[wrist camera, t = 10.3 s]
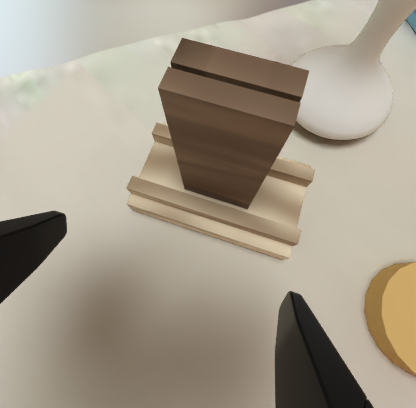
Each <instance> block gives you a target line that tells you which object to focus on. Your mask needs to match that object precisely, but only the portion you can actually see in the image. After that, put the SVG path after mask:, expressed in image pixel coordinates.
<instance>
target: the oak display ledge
mask: <svg viewBox="0 0 416 408" xmlns="http://www.w3.org/2000/svg"><path fill="white" fill-rule="evenodd" d="M152 135H153V138H154V140H155V143H154V145H153V147H152V149H151V151H150V154H149V156H148V158H147V160H146V162H145V165H144V167H143V169H142V171H141V173H140V176H139V178H137V177H134V176H132V177H131V179H130V182H129V184H128V186H127V189H128V190H129V191H130V193H131V195H130V198H129V200H128V202H127V205H128V206H129V207H130V208H132V209H133V210H135V211H138V212H141V213H144V214H147V215H150V216H153V217H156V218H159V219H162V220H165V221H168V222H171V223H174V224H177V225H180V226H183V227H186V228H189V229H192V230H195V231H198V232H201V233H204V234H207V235H210V236H213V237H216V238H219V239H222V240H225V241H228V242H231V243H234V244H237V245H240V246H242V247H245V248H248V249H251V250H254V251H257V252H260V253H263V254H266V255H269V256H272V257H275V258H278V259H281V260H284V259H288V258H290V254H291V250H292V246H294V245H297V244H298V242H299V238H300V233H301V230H300V229H297V224H298V220H299V216H300V211H301V207H302V203H303V199H304V194H305V190H306V187H307V186H308V185H309V184H310V183H311V182H312V181H313V176H314V172H315V169H312V168H311V166H309V165H306V164H302V163H299V162H296V161H292V160H289V159H285V158H282V157H279V156H277V158H276V160H275V162H274V163H273V165H272V167H271V169H270V171H269V172H268V174H267V176H266V178H265V179H264V181H263V183H262V185H261V187H260V188H259V190H258V192H257V194H256V195H255V197H254V199H253V201H252V203H251V204H250V206H249V208H248V209H244V208H241V207H238V206H235V205H232V204H229V203H226V202H222V201H219V200H216V199H213V198H210V197H207V196H204V195H200V194H197V193H194V192H191V191H188V190H185V189H184V185H183V181H182V178H181V174H180V170H179V166H178V162H177V158H176V155H175V151H174V147H173V143H172V139H171V136H170V132H169V128H168V124H166V123H163V124H160V123H156V125H155V128H154V130H153V132H152Z"/></svg>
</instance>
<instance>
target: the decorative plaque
mask: <svg viewBox="0 0 416 408" xmlns="http://www.w3.org/2000/svg"><path fill="white" fill-rule="evenodd" d="M365 315H366V319H367V324H368V328H369V331H370V333H371V335H372V337H373V338H374V340H375V342H376V344H377V346H378V348H379V349H380V350H381V351H382V352H383V353H384V354H385V355H386V356H387V357H388V358H389V360H390V361H391V362H392V363H394V364H395V365H397V366H399V367H400V368H402V369H403V370H405V371H406V372H408V373H410V374H412V375H414V376H416V262H414V263H402V264H394V265H392V266H390V267H387V268H385V269H383V270H381V271H380V272H379V273H378V274H377V275H376V277H375V278H374V279H373V280H372V281H371V283H370V286H369V288H368V291H367V293H366V299H365Z"/></svg>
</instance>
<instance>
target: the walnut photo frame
mask: <svg viewBox="0 0 416 408" xmlns="http://www.w3.org/2000/svg"><path fill="white" fill-rule="evenodd" d="M171 67H172V68H170V67H168V68H167V70H166V72H165V75H164V77H163V79H162V81H161V83H160V85H159V87H158V90H159V94H160V97H161V101H162V105H163V109H164V113H165V116H166V120H167V124H168V128H169V132H170V136H171V139H172V143H173V147H174V151H175V155H176V158H177V162H178V166H179V170H180V174H181V178H182V181H183V185H184V189H185V190H188V191H191V192H194V193H197V194H200V195H204V196H207V197H210V198H213V199H216V200H219V201H222V202H226V203H229V204H232V205H235V206H238V207H241V208H244V209H248V208H249V206H250V204H251V203H252V201H253V199H254V197H255V195H256V194H257V192H258V190H259V188H260V187H261V185H262V183H263V181H264V179H265V178H266V176H267V174H268V172H269V171H270V169H271V167H272V165H273V163H274V162H275V160H276V158H277V156H278V155H279V153H280V151H281V149H282V147H283V146H284V144H285V142H286V140H287V139H288V137H289V135H290V133H291V131H292V130H293V128H294V126H295V123H296V119H297V115H298V111H299V108H300V104H301V103H300V101H301V99H302V97H303V93H304V89H305V85H306V82H307V78H308V74H309V70H305V69H301V68H298V67H294V66H290V65H286V64H282V63H278V62H274V61H270V60H266V59H262V58H259V57H255V56H251V55H247V54H243V53H239V52H235V51H231V50H227V49H223V48H220V47H216V46H212V45H208V44H204V43H200V42H196V41H192V40H188V39H184V38H182V39H181V41H180V44H179V46H178V48H177V50H176V52H175V54H174V56H173V58H172V60H171Z"/></svg>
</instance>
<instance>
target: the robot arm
mask: <svg viewBox="0 0 416 408" xmlns="http://www.w3.org/2000/svg"><path fill="white" fill-rule="evenodd" d="M66 233H67V223H66V216H65V214H64V213H61V212H58V211H50V212H45V213H40V214H35V215H30V216H25V217H21V218H16V219H11V220H6V221H1V222H0V304H1V303H2V302H3V301H4V300H5V299H6V298H7V297H8V296H9V295H10V294H11V293H12V292H13V291H14V290H15V289H16V288H17V287H18V286H19V285H20V284H21V283H22V282H23V281H24V280H25V279H26V278H27V277H29V276H30V275H31V274H32V273H33V272H34V271H35V270H36V269H37V268H38V267H39V266H40V264H41V263H42V262H43V261H44V260H45V259H46V258H47V256H48V255H49V254H50V253H51V252H52V251H53V249H54V248H55V247H56V246H57V245H58V244H59V242H60V241H61V240H62V239H63V238H64V237H65V235H66ZM275 406H276V408H374V407H373V406H372V404H371V403H370V401H369V400H367V397H366V395H365V394H364V392H363V390H362V389H361V387H360V386H359V384H358V383H357V381H356V380H355V378H354V376H353V375H352V373H351V372H350V370H349V369H348V367H347V366H346V364H345V362H344V361H343V359H342V358H341V356H340V355H339V353H338V351H337V350H336V348H335V347H334V345H333V344H332V342H331V341H330V339H329V337H328V336H327V334H326V333H325V331H324V330H323V328H322V327H321V325H320V323H319V322H318V320H317V319H316V317H315V316H314V314H313V313H312V311H311V309H310V308H309V306H308V305H307V303H306V302H305V300H304V299H303V297H302V296H301V295H300V294H298V293H295V292H292V291H289V292H288V293H287V295H286V297H285V298H284V300H283V302H282V304H281V306H280V309H279V316H278V326H277V336H276V346H275Z"/></svg>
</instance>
